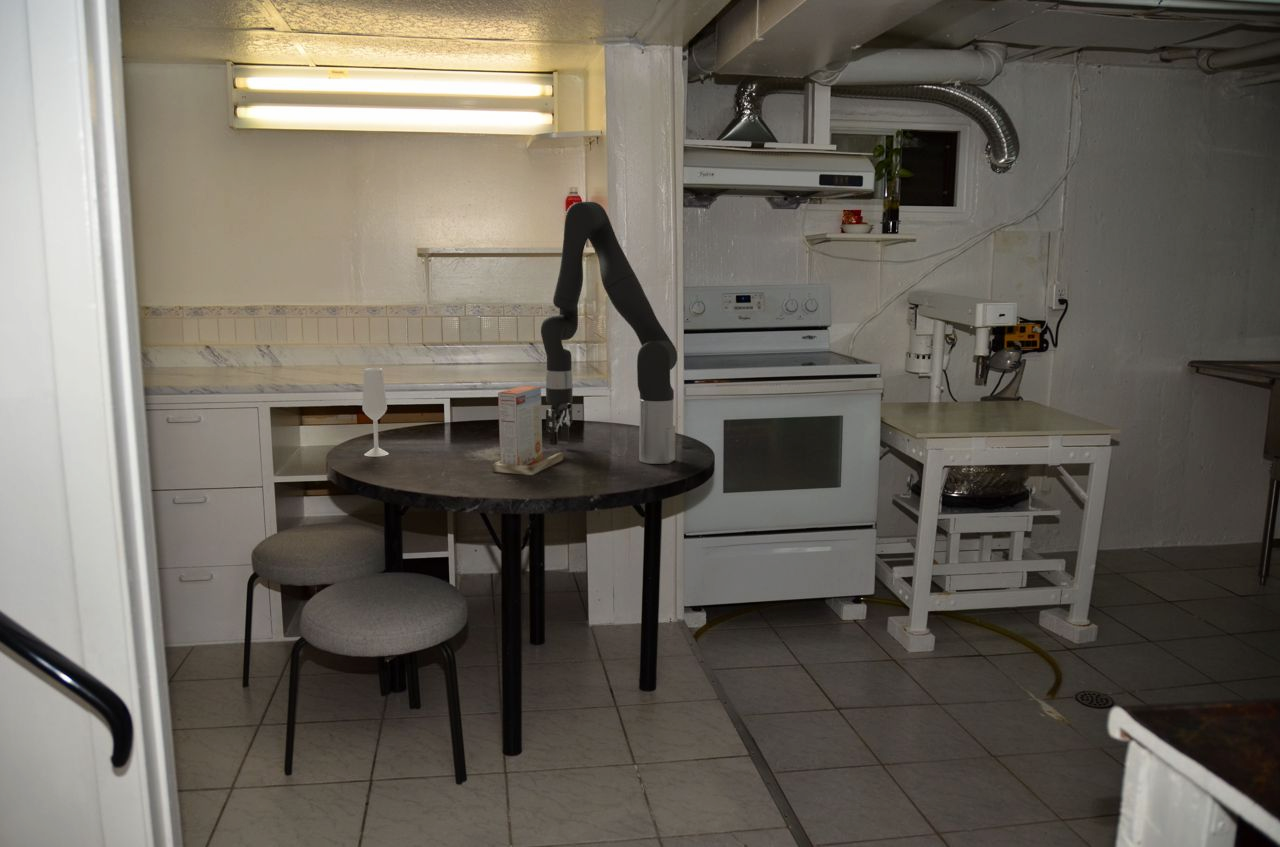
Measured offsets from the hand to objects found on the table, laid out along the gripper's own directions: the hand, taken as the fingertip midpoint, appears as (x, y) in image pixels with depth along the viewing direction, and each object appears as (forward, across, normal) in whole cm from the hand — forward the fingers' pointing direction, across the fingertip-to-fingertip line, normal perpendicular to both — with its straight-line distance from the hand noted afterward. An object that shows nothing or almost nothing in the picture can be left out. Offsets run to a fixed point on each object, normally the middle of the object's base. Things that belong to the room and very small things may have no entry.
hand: (559, 442), depth 282 cm
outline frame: (+3, -21, 0) cm, 21 cm away
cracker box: (+3, -22, +2) cm, 22 cm away
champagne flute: (+3, -22, +46) cm, 51 cm away
